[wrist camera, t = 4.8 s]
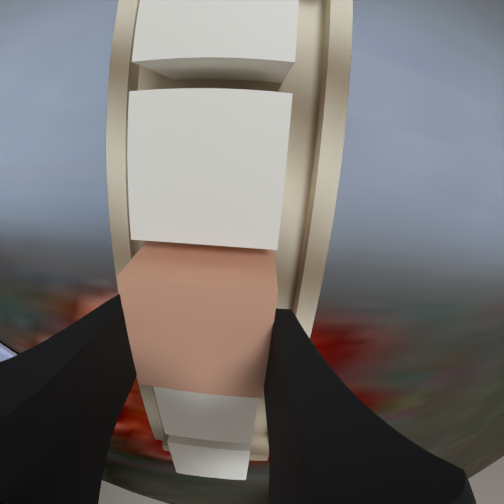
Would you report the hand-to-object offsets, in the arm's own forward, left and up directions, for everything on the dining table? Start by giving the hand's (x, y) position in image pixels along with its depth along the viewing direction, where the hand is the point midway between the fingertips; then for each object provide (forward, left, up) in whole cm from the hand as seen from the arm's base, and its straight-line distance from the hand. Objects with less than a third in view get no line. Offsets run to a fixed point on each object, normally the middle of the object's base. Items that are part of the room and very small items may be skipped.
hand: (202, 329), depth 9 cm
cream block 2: (+4, +2, -4) cm, 6 cm away
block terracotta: (0, 0, -3) cm, 3 cm away
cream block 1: (+9, +3, -4) cm, 10 cm away
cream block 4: (-9, -3, -4) cm, 10 cm away
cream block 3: (-5, -2, -4) cm, 6 cm away
